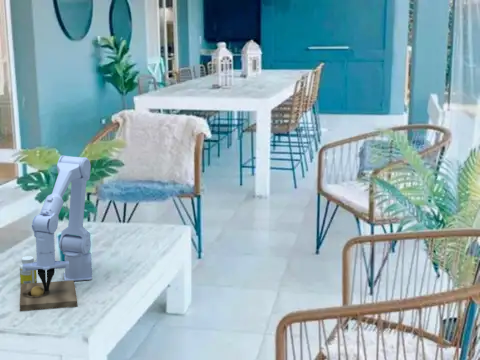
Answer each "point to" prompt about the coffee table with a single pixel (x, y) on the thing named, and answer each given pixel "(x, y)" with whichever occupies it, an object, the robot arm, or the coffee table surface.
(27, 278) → the supplement bottle
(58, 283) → the wooden board with hole
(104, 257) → the coffee table surface
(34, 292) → the ball
